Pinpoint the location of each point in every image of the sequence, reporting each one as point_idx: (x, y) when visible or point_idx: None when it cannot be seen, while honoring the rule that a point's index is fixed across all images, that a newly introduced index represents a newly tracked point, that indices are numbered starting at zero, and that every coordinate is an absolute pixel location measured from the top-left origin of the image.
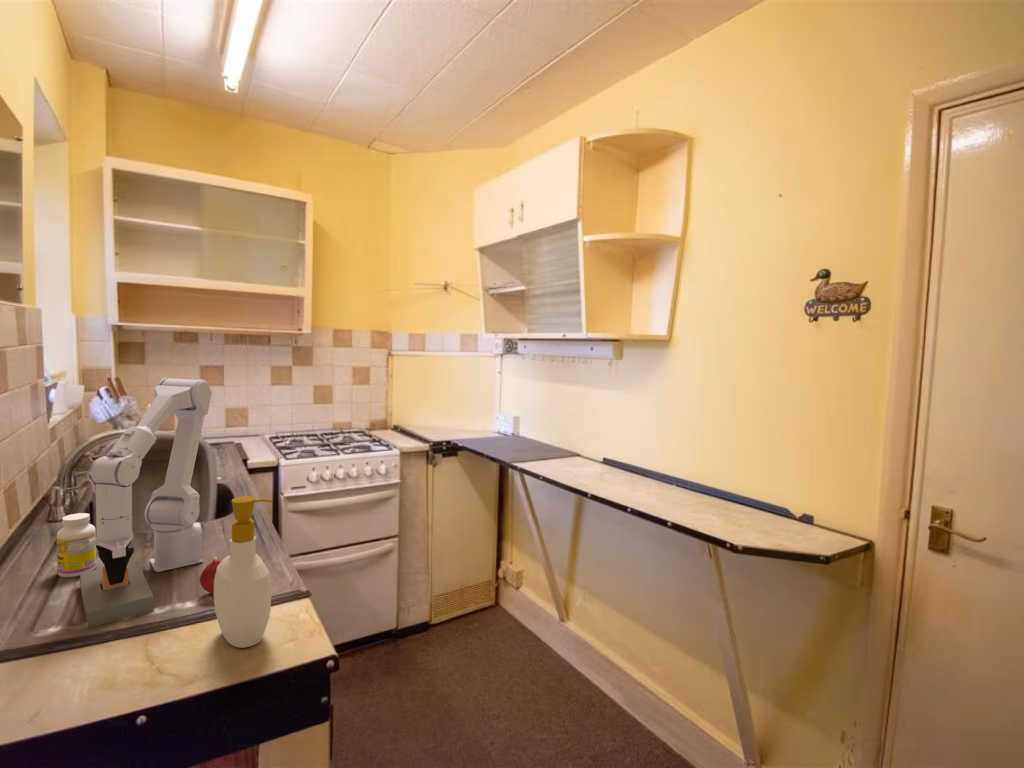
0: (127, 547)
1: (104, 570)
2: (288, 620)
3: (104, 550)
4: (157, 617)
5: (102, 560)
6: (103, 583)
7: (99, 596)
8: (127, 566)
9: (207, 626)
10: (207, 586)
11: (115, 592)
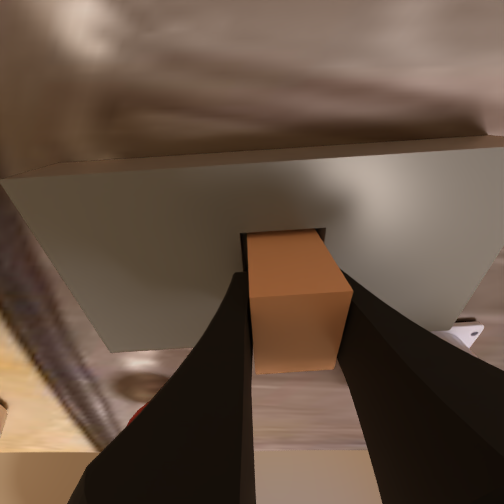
0: (379, 486)
1: (287, 302)
2: (20, 439)
3: (444, 447)
4: (86, 318)
5: (102, 455)
6: (248, 256)
7: (176, 225)
8: (273, 372)
9: (14, 376)
10: (130, 422)
11: (192, 274)
